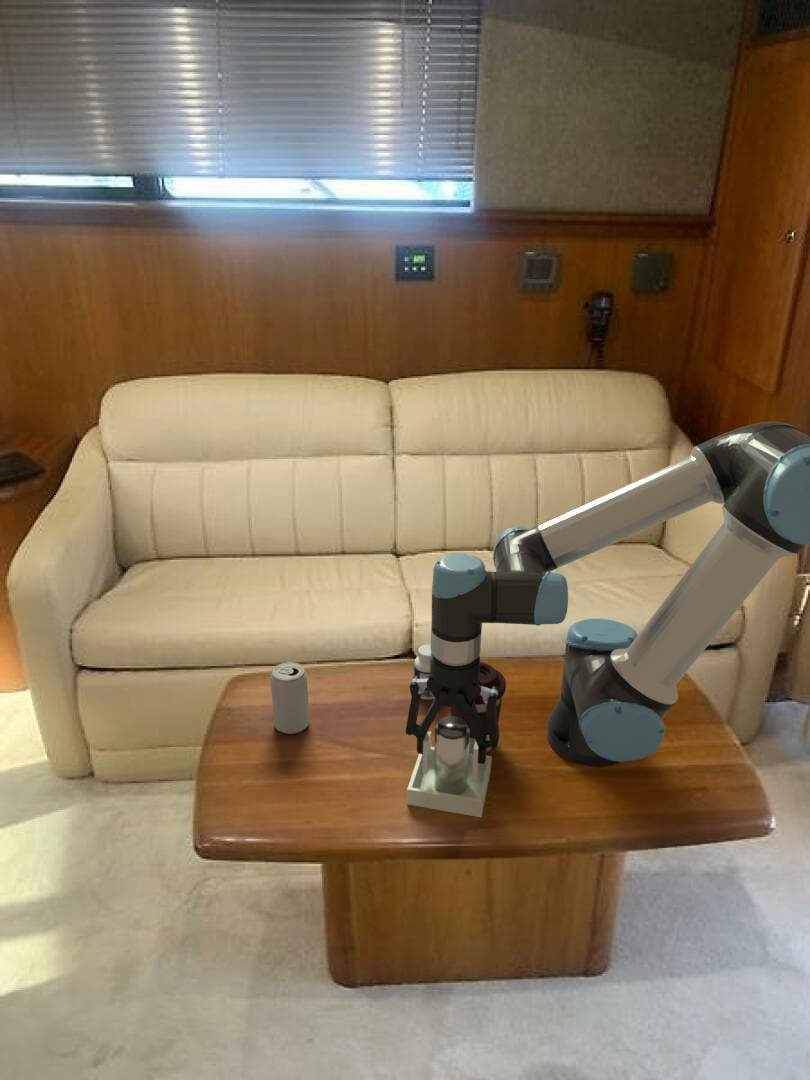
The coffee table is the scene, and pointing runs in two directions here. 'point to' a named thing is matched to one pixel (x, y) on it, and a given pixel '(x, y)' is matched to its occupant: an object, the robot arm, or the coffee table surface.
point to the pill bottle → (423, 668)
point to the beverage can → (290, 697)
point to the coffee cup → (488, 679)
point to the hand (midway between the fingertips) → (450, 772)
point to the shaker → (451, 755)
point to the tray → (428, 797)
